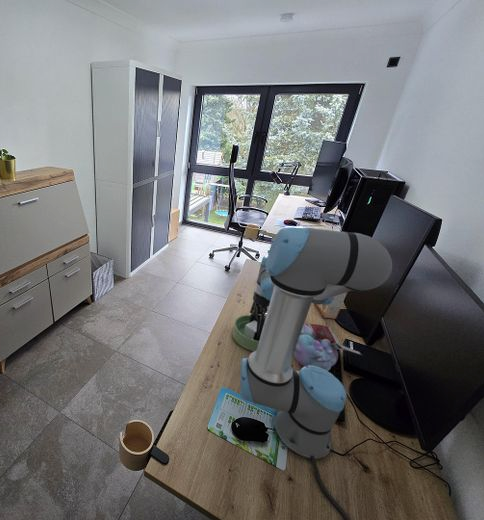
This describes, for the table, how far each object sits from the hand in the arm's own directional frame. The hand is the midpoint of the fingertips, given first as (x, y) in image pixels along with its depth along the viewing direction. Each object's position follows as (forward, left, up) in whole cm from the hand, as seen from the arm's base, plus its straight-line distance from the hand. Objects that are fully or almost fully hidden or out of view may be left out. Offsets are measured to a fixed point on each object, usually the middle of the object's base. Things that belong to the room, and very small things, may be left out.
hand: (253, 336), depth 124 cm
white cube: (0, 0, 0) cm, 0 cm away
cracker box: (+27, -40, -1) cm, 48 cm away
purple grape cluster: (-7, -22, -1) cm, 23 cm away
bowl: (0, 0, -1) cm, 1 cm away
